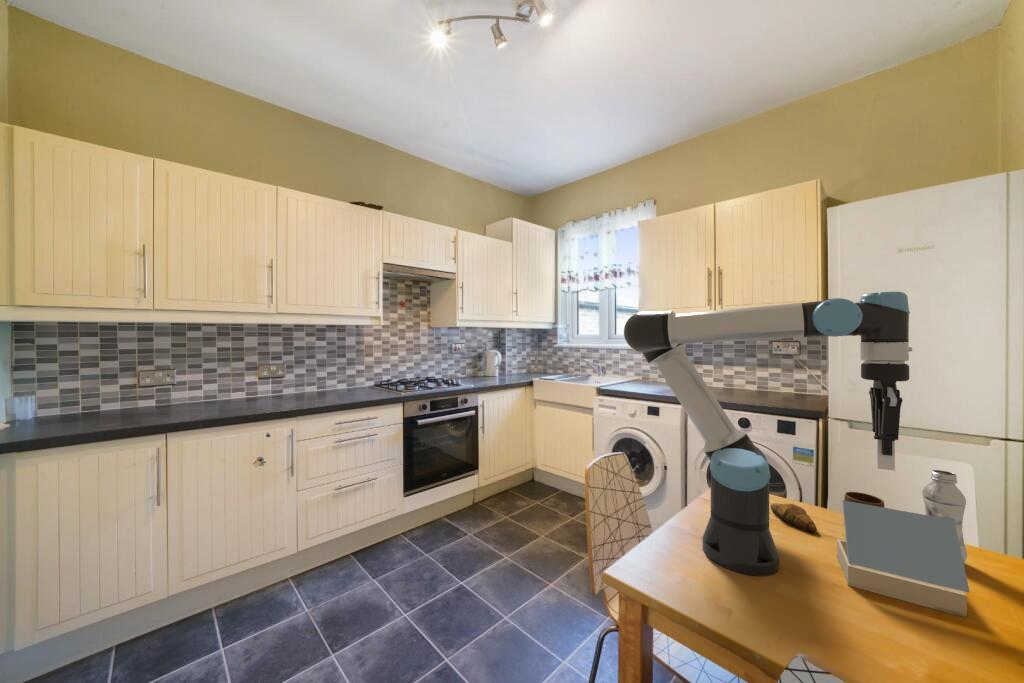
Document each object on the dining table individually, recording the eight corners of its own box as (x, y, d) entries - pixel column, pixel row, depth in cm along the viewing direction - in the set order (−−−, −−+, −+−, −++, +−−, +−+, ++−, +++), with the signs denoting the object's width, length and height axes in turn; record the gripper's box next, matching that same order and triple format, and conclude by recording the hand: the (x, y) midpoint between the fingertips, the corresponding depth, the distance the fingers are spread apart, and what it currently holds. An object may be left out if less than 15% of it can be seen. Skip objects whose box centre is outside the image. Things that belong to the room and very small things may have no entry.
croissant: (827, 533, 95) (827, 514, 95) (803, 535, 94) (803, 516, 94) (783, 509, 108) (783, 493, 108) (762, 511, 108) (762, 494, 108)
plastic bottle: (977, 570, 79) (977, 478, 79) (940, 567, 80) (940, 477, 80) (947, 553, 86) (947, 468, 86) (913, 550, 87) (913, 466, 87)
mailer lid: (848, 562, 75) (849, 562, 74) (842, 501, 80) (843, 500, 79) (967, 592, 66) (969, 592, 65) (952, 520, 71) (954, 520, 70)
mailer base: (848, 585, 75) (848, 565, 75) (836, 556, 85) (836, 538, 85) (966, 617, 66) (966, 595, 66) (938, 580, 76) (938, 561, 76)
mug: (913, 551, 87) (913, 512, 86) (882, 552, 86) (882, 512, 86) (863, 525, 99) (863, 491, 98) (836, 526, 98) (836, 491, 98)
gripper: (920, 364, 74) (921, 481, 74) (898, 361, 84) (899, 463, 84) (868, 363, 78) (869, 474, 78) (854, 360, 89) (855, 457, 89)
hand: (885, 468), depth 81 cm, fingers closed
